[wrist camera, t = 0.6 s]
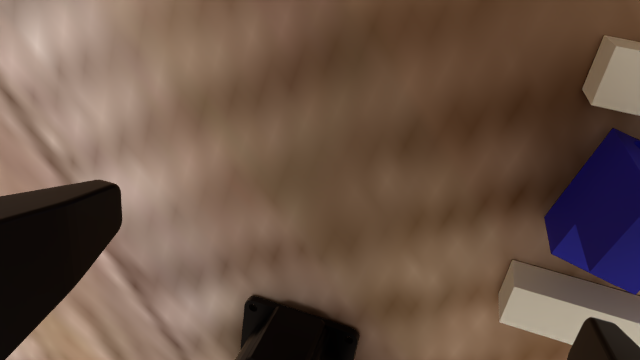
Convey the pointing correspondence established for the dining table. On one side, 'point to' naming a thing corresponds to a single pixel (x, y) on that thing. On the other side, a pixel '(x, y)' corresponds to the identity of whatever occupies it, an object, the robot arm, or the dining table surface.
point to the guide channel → (562, 290)
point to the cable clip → (602, 214)
